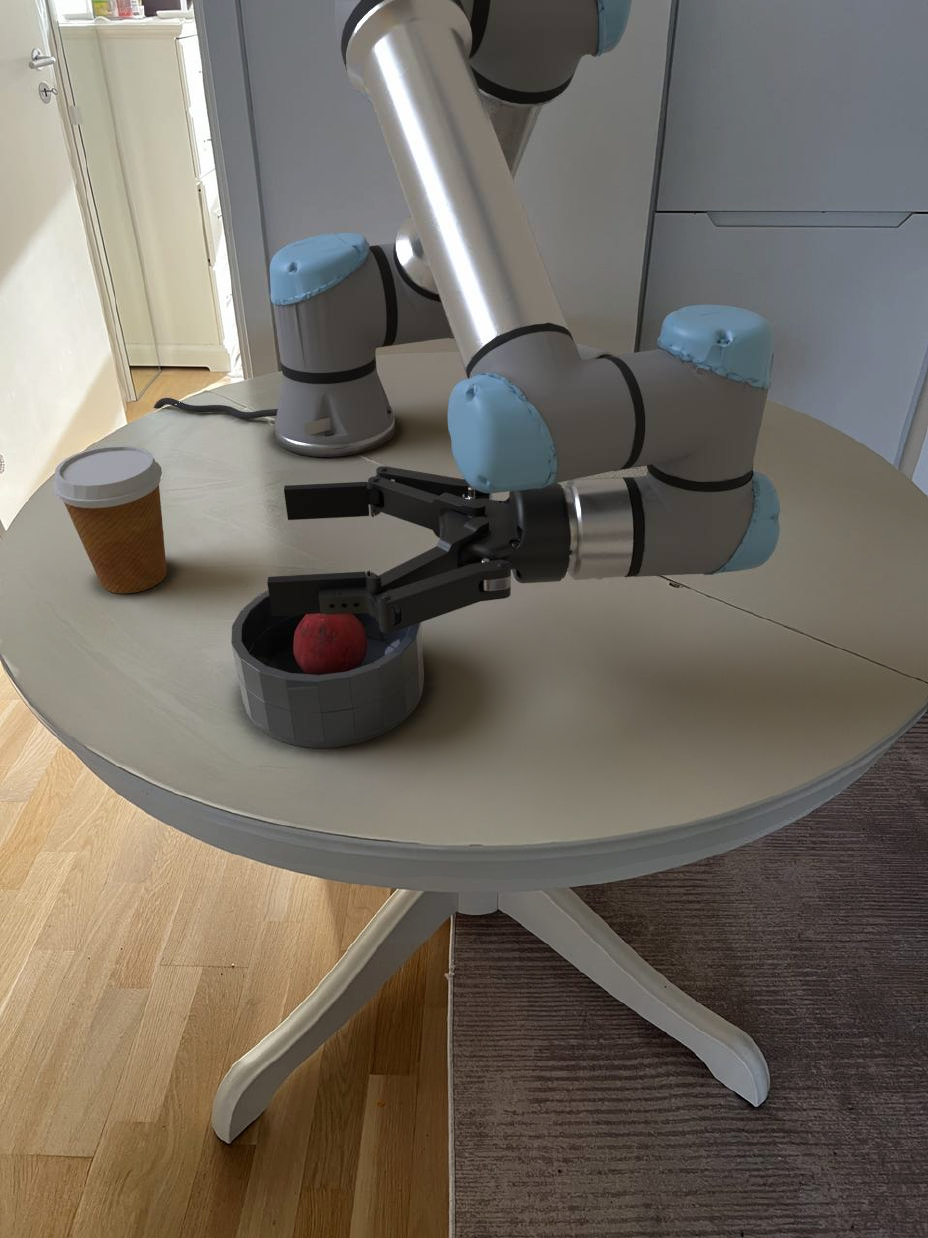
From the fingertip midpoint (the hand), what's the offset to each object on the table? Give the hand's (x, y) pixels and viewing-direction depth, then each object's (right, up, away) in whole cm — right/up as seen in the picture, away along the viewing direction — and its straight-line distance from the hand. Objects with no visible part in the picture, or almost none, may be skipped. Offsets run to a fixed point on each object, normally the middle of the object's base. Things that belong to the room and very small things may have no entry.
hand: (278, 545), depth 68 cm
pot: (+3, -11, +8) cm, 14 cm away
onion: (+3, -11, +8) cm, 13 cm away
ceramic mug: (+29, +24, +58) cm, 69 cm away
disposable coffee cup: (-19, -1, +23) cm, 29 cm away
